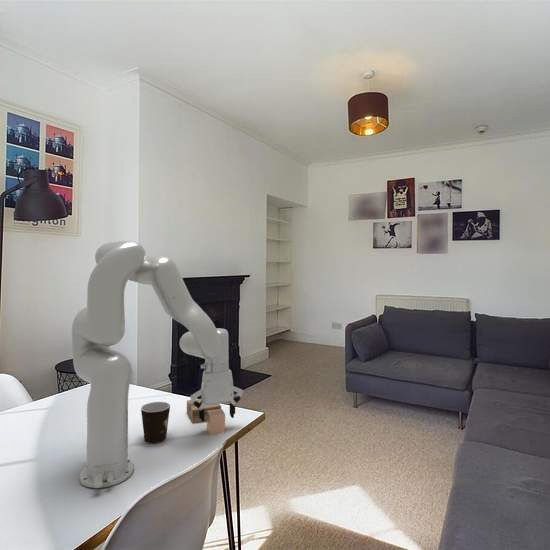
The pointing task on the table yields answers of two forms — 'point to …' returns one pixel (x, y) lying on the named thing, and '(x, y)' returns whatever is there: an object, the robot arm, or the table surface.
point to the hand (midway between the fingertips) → (217, 418)
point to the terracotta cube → (215, 421)
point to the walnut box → (194, 411)
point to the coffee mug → (155, 421)
